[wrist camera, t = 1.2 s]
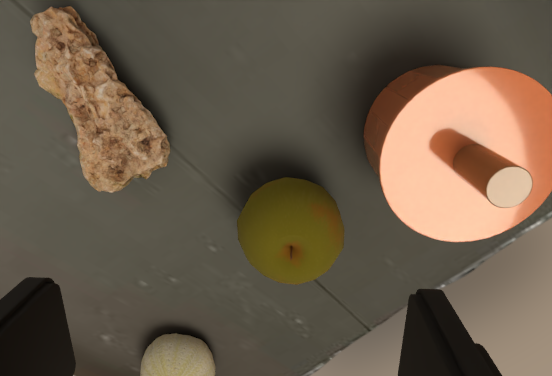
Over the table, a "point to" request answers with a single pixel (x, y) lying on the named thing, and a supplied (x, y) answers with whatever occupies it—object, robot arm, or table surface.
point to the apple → (291, 230)
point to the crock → (395, 105)
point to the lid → (469, 154)
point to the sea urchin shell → (177, 357)
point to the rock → (96, 103)
